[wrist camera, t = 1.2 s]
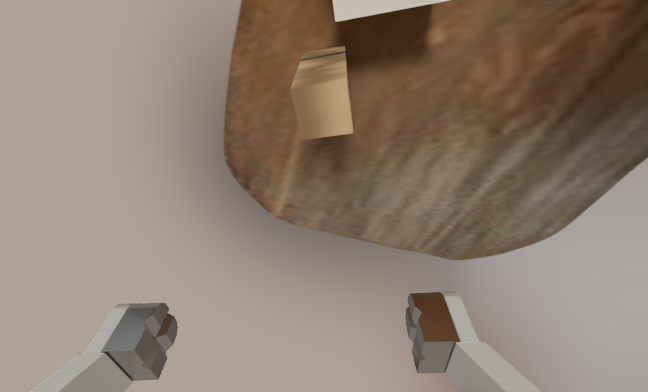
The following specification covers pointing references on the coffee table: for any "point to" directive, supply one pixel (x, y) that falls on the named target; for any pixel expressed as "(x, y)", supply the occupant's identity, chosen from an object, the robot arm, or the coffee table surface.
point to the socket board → (373, 7)
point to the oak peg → (323, 94)
